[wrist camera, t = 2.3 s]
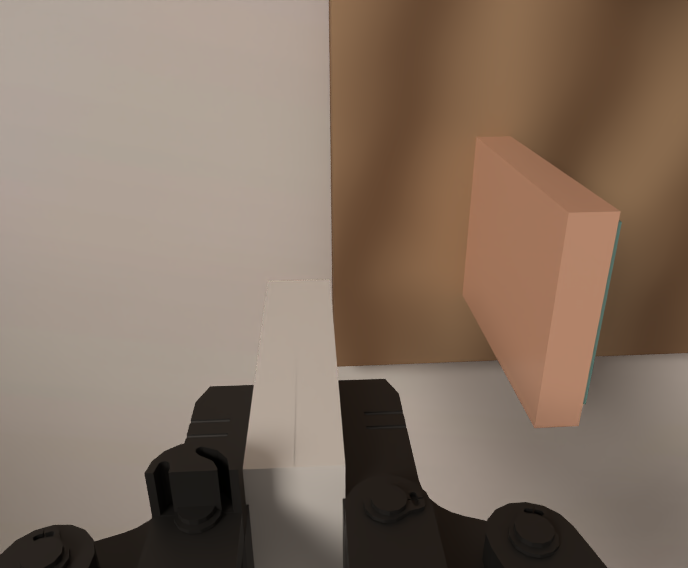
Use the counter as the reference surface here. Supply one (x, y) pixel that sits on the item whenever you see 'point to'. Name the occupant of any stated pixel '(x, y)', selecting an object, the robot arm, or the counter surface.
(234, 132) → the counter surface
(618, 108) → the board
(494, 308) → the tile
